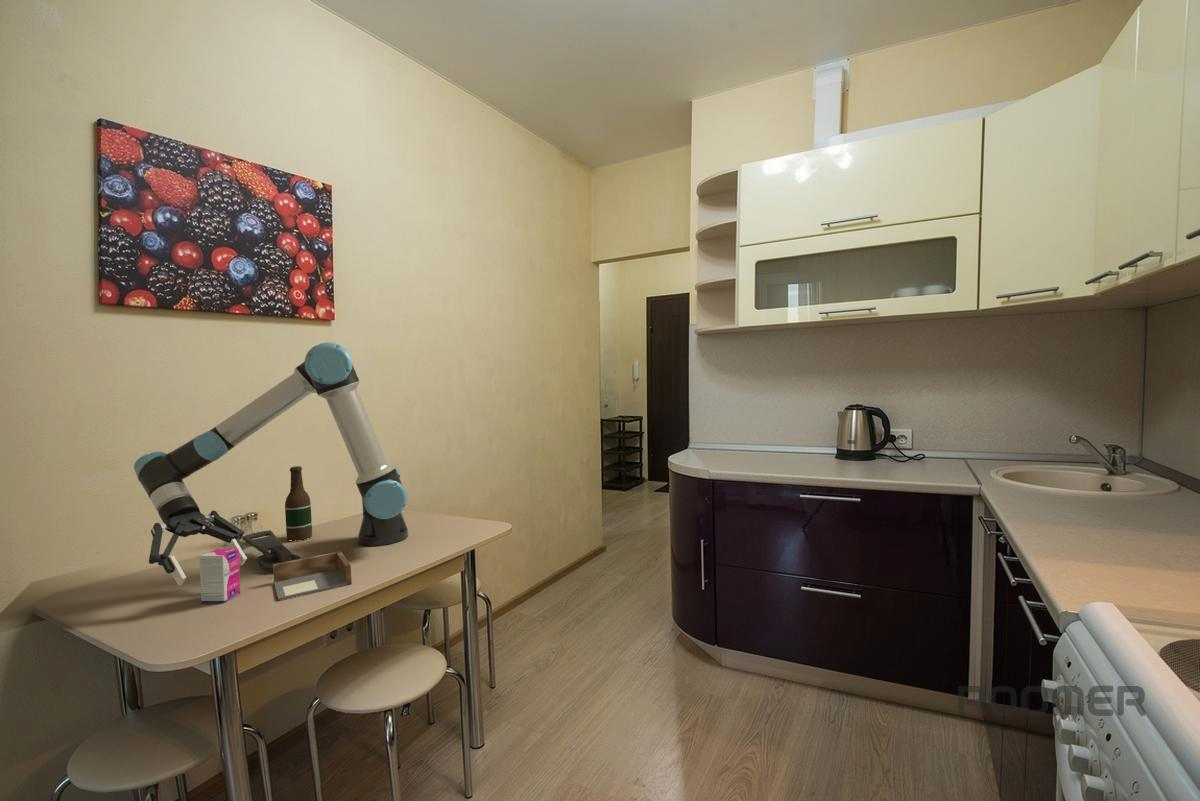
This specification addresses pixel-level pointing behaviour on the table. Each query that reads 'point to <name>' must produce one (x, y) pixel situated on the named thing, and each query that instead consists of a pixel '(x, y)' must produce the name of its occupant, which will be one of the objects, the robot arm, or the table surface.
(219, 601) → the supplement box
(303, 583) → the grey mat
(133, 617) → the table surface
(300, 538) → the beer bottle
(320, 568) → the walnut corner walls
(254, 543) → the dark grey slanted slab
